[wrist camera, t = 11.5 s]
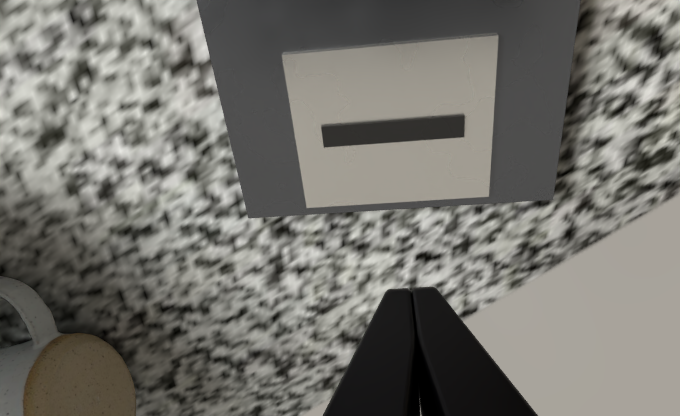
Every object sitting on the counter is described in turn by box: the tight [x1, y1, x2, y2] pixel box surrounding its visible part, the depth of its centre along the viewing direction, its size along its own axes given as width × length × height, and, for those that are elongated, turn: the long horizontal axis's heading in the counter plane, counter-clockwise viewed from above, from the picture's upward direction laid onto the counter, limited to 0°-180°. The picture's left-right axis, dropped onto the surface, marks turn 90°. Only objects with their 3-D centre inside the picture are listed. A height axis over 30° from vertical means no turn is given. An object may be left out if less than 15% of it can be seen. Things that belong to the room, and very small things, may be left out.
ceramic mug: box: [0, 276, 136, 416], centre depth 25 cm, size 11×8×8 cm
